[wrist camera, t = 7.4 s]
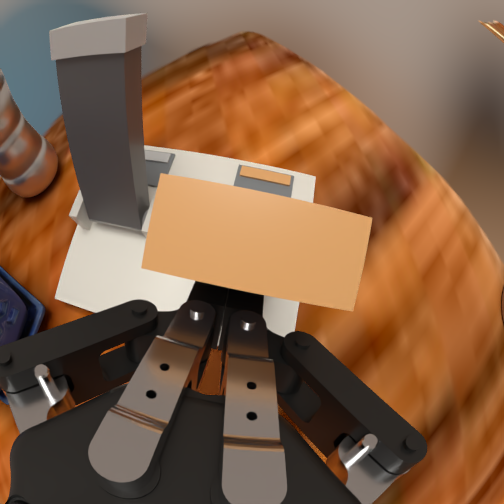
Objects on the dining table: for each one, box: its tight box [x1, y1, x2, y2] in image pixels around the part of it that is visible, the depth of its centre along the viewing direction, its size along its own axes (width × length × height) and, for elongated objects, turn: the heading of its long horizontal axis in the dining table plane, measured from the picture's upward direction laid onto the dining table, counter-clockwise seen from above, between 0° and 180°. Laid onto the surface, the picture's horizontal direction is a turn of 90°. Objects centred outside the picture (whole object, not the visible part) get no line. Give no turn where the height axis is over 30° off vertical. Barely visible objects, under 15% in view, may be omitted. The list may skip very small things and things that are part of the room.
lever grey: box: [49, 13, 150, 232], centre depth 17 cm, size 2×5×16 cm, turn 79°
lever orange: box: [141, 173, 372, 311], centre depth 15 cm, size 2×5×16 cm, turn 79°
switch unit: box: [55, 146, 316, 346], centre depth 23 cm, size 16×20×5 cm
